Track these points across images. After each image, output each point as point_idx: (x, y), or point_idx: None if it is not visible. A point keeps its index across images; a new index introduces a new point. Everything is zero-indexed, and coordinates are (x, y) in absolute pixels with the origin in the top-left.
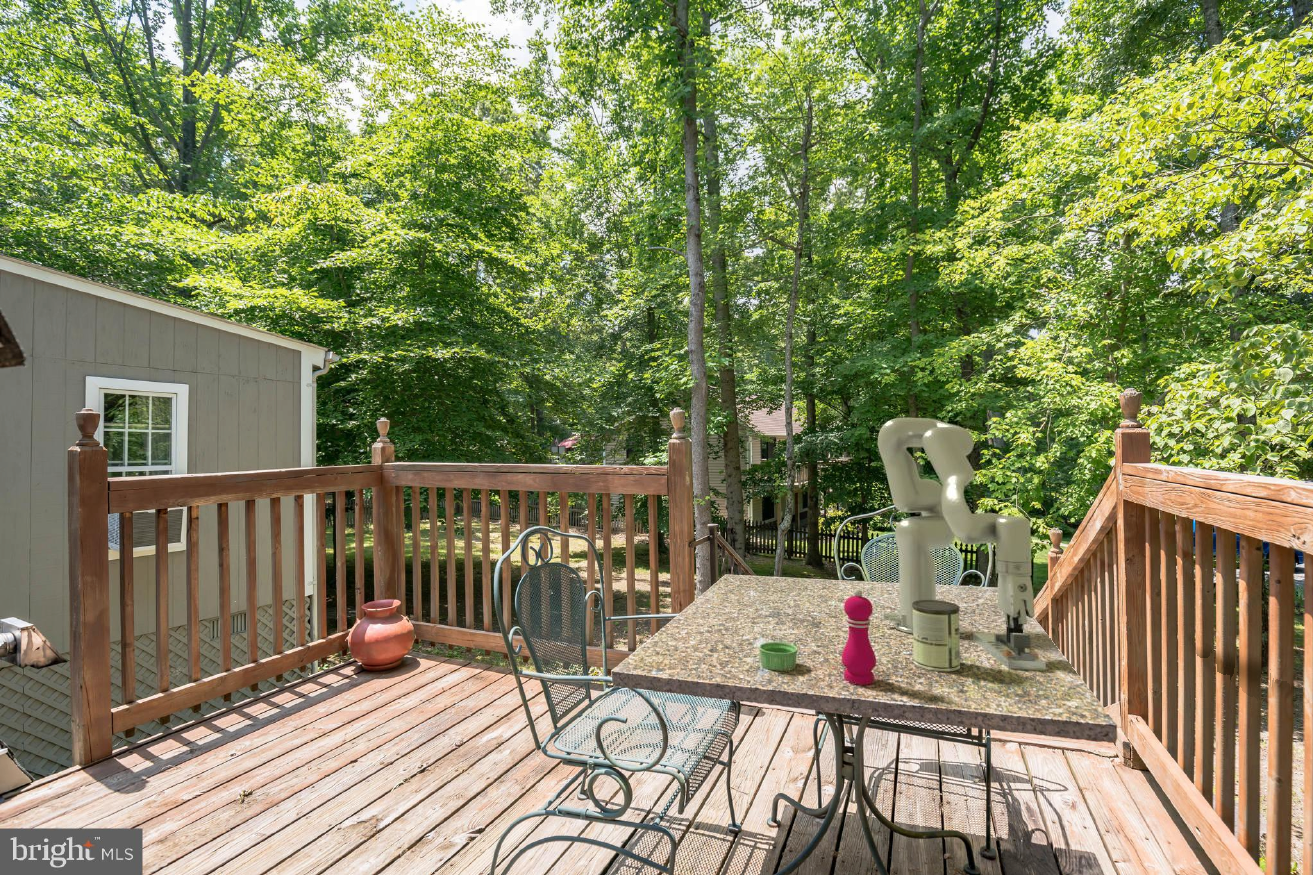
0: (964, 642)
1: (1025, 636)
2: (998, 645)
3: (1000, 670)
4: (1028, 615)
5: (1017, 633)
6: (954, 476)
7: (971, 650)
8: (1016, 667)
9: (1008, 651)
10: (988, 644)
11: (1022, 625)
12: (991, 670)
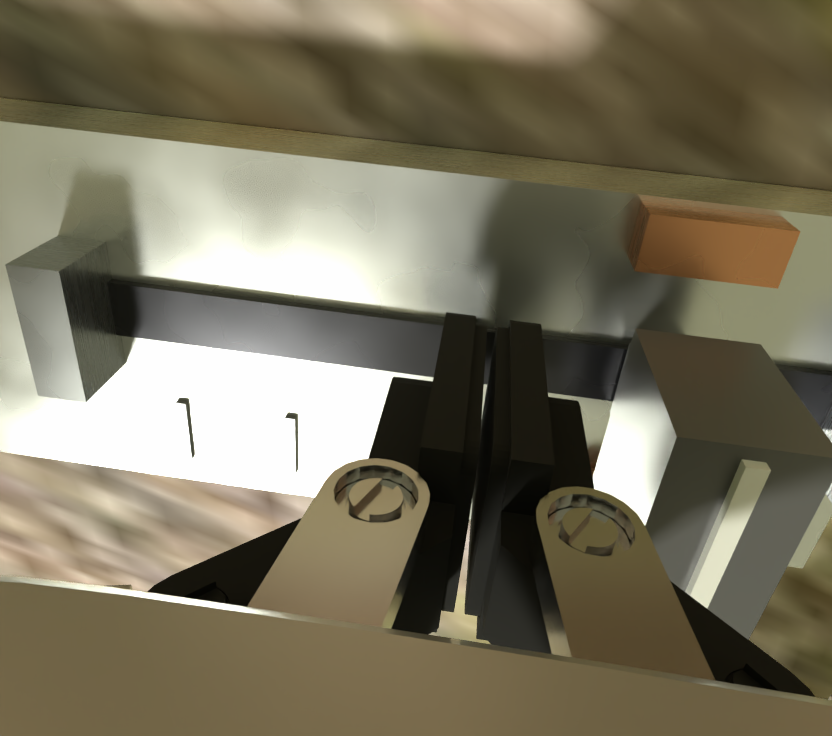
0: (26, 480)
1: (808, 511)
2: (302, 419)
3: (784, 573)
4: (809, 731)
5: (697, 587)
6: None
7: (254, 528)
8: None
9: None
10: (277, 487)
11: (708, 611)
12: (766, 624)
